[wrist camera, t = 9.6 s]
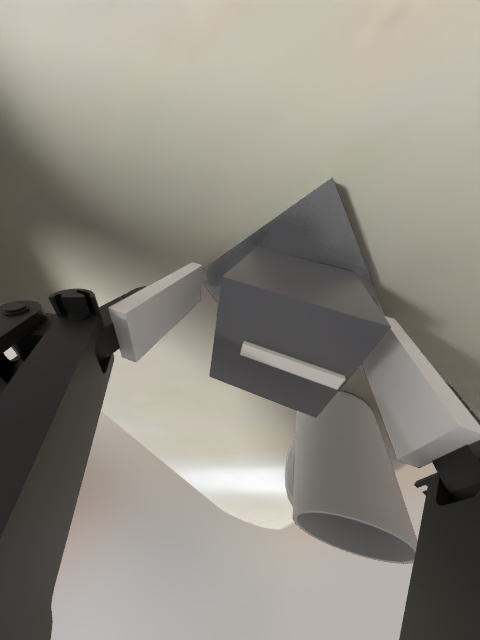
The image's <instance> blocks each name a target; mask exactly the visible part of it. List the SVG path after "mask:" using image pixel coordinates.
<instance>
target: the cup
mask: <svg viewBox="0 0 480 640" xmlns="http://www.w3.org/2000/svg"><path fill="white" fill-rule="evenodd" d="M285 484H286V491H287V496H288V499H289V501H290V503H291V504H292V506H293V520H294V522H295V524H296V525H298V526H299V527H300V528H301V529H302V530H303V531H305V532H306V533H308V534H309V535H311V536H313V537H315V538H317V539H318V540H320V541H322V542H325V543H327V544H329V545H331V546H333V547H336V548H339V549H341V550H344V551H347V552H350V553H353V554H356V555H359V556H362V557H366V558H370V559H374V560H379V561H384V562H390V563H401V564H406V563H407V564H408V563H414V558H415V553H416V547H417V542H418V541H417V538H416V535H415V532H414V529H413V526H412V523H411V520H410V517H409V515H408V512H407V508H406V506H405V503H404V500H403V497H402V494H401V491H400V488H399V485H398V482H397V479H396V476H395V473H394V470H393V467H392V464H391V461H390V458H389V455H388V452H387V449H386V446H385V443H384V440H383V437H382V434H381V431H380V428H379V426H378V423H377V420H376V418H375V415H374V413H373V411H372V409H371V408H370V407H369V406H368V405H367V404H366V403H365V402H364V401H363V400H361V399H360V398H358V397H356V396H354V395H352V394H349V393H346V392H343V391H338V392H337V394H336V395H335V396H334V397H333V398H332V400H331V401H330V402H329V403H328V404H327V406H326V407H325V408H324V409H323V410H322V412H321V413H320V414H319V415H318V416H317V418H315V417H312V416H309V415H307V414H304V413H302V412H299V411H297V413H296V434H295V438H294V439H293V441H292V443H291V445H290V448H289V451H288V454H287V460H286V469H285Z"/></svg>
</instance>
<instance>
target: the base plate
mask: <svg viewBox="0 0 480 640" xmlns="http://www.w3.org/2000/svg"><path fill="white" fill-rule="evenodd" d="M256 247H261V248H265V249H268V250H272V251H276V252H280V253H284V254H287V255H291V256H295V257H299V258H303V259H306V260H310V261H314V262H318V263H322V264H325V265H329V266H333V267H337V268H341V269H344V270H348V271H352V272H354V273H355V274H356V275H357V277H358V278H359V280H360V281H361V283H362V284H363V286H364V287H365V289H366V290H367V292H368V293H369V295H370V296H371V298H372V299H373V301H374V302H375V304H376V305H377V306H378V308H379V309H380V311H381V312H382V314H383V315H384V316H385V314H384V311H383V309H382V306H381V303H380V301H379V298H378V296H377V293H376V290H375V288H374V285H373V282H372V280H371V277H370V275H369V272H368V269H367V267H366V264H365V261H364V259H363V256H362V253H361V251H360V248H359V246H358V243H357V240H356V238H355V235H354V232H353V230H352V227H351V225H350V222H349V219H348V217H347V214H346V211H345V209H344V206H343V204H342V201H341V198H340V196H339V193H338V190H337V188H336V185H335V182H334V180H333V178H331V179H330V180H328V181H327V182H326V183H324V184H323V185H321V186H320V187H319V188H317V189H316V190H314V191H313V192H311V193H310V194H309V195H307V196H306V197H304V198H303V199H302V200H300V201H299V202H297V203H296V204H295V205H293V206H292V207H290V208H289V209H288V210H286V211H285V212H283V213H282V214H281V215H279V216H278V217H276V218H275V219H273V220H272V221H271V222H269V223H268V224H266V225H265V226H264V227H262V228H261V229H259V230H258V231H257V232H255V233H254V234H252V235H251V236H250V237H248V238H247V239H245V240H244V241H243V242H241V243H240V244H238V245H237V246H235V247H234V248H233V249H231V250H230V251H228V252H227V253H226V254H224V255H223V256H221V257H220V258H219V259H217V260H216V261H214V262H213V263H212V264H210V265H209V266H207V267H206V268H205V269H203V270H202V283H203V284H204V286H205V287H206V288H207V290H208V291H209V293H210V294H211V295H212V297H213V298H214V300H215V301H216V302H217V304H218V305H219V297H220V289H221V282H222V276H223V275H225V274H226V273H227V272H228V271H229V270H231V269H232V268H233V267H234V266H235V265H236V264H238V263H239V262H240V261H241V260H242V259H243V258H245V257H246V256H247V255H248V254H249V253H250V252H252V251H253V250H254V249H255V248H256Z"/></svg>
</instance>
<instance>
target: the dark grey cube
mask: <svg viewBox="0 0 480 640" xmlns="http://www.w3.org/2000/svg"><path fill="white" fill-rule="evenodd" d="M390 328H391V326H390V324H389V323H388V321H387V320H386V318H385V317H384V315H383V314H382V312H381V311H380V309H379V308H378V306H377V305H376V304H375V302H374V301H373V299H372V298H371V296H370V295H369V293H368V292H367V290H366V289H365V287H364V286H363V284H362V283H361V281H360V280H359V278H358V277H357V275H356V274H355V273H354V272H352V271H348V270H344V269H341V268H337V267H333V266H329V265H325V264H322V263H318V262H314V261H310V260H306V259H303V258H299V257H295V256H291V255H287V254H284V253H280V252H276V251H272V250H268V249H265V248H261V247H256V248H255V249H254V250H253V251H252V252H250V253H249V254H248V255H247V256H246V257H245V258H243V259H242V260H241V261H240V262H239V263H238V264H236V265H235V266H234V267H233V268H232V269H231V270H229V271H228V272H227V273H226V274H225V275H223V276H222V282H221V289H220V297H219V305H218V313H217V321H216V329H215V337H214V345H213V353H212V361H211V369H210V377H212V378H215V379H217V380H220V381H222V382H225V383H228V384H230V385H233V386H235V387H238V388H240V389H243V390H245V391H248V392H251V393H253V394H256V395H258V396H261V397H263V398H266V399H268V400H271V401H274V402H276V403H279V404H281V405H284V406H286V407H289V408H292V409H294V410H297V411H299V412H302V413H304V414H307V415H309V416H312V417H315V418H317V416H318V415H319V414H320V413H321V412H322V410H323V409H324V408H325V407H326V406H327V404H328V403H329V402H330V401H331V400H332V398H333V397H334V396H335V395H336V394H337V392H338V391H339V390H340V389H341V388H342V386H343V385H344V384H345V383H346V381H347V380H348V379H349V378H350V377H351V375H352V374H353V373H354V372H355V371H356V369H357V368H358V367H359V366H360V365H361V363H362V362H363V361H364V360H365V359H366V357H367V356H368V355H369V354H370V353H371V351H372V350H373V349H374V348H375V347H376V345H377V344H378V343H379V342H380V340H381V339H382V338H383V337H384V336H385V334H386V333H387V332H388V331H389V330H390Z"/></svg>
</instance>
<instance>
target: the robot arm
mask: <svg viewBox="0 0 480 640" xmlns="http://www.w3.org/2000/svg"><path fill="white" fill-rule="evenodd" d="M201 282H202V265H200V264H197V263H193V262H191V263H190V264H188V265H186V266H184V267H182V268H180V269H179V270H177V271H175V272H173V273H171V274H169V275H168V276H166V277H164V278H162V279H160V280H158V281H156V282H155V283H153V284H151V285H149V286H147V287H146V286H144V287H140V288H136V289H134V290H132V291H130V292H128V293H127V294H124V295H122V296H121V297H118V298H116V299H114V300H113V301H111V302H109V303H107V304H105V305H103V306H101V307H98V304H97V301H96V297H95V294H94V293H93V292H92V291H89V290H86V289H68V290H63V291H60V292H57V293H54V294H52V295H51V296H50V297H49V299H50V301H51V304H52V306H53V308H54V310H55V312H56V314H49V313H45V312H44V310H43V308H42V306H41V305H40V304H39V303H38V302H33V301H18V302H17V301H16V302H11V303H9V304H5V305H2V306H0V640H50V639H51V631H52V611H51V602H52V595H53V591H54V586H55V582H56V578H57V575H58V571H59V567H60V563H61V559H62V555H63V552H64V548H65V544H66V541H67V537H68V533H69V529H70V525H71V522H72V518H73V514H74V510H75V506H76V503H77V498H78V495H79V491H80V487H81V484H82V480H83V476H84V472H85V468H86V465H87V460H88V457H89V453H90V449H91V445H92V442H93V438H94V434H95V430H96V427H97V423H98V419H99V415H100V411H101V408H102V404H103V400H104V396H105V392H106V389H107V385H108V381H109V377H110V373H111V370H112V366H113V362H114V355H113V353H114V352H115V351H117V350H118V349H119V348H120V352H121V355H122V357H123V358H126V359H128V360H131V361H134V362H137V361H138V360H139V359H140V358H141V357H143V356H144V355H145V354H146V353H147V352H148V351H149V350H150V349H151V348H152V347H153V346H154V345H155V344H156V343H157V342H158V341H159V340H160V339H161V338H162V337H163V336H164V335H165V334H166V333H167V332H168V331H169V330H170V329H172V328H173V327H174V326H175V325H176V324H177V323H178V322H179V321H180V320H181V319H182V318H183V317H184V316H185V315H186V314H187V313H188V312H189V311H190V310H191V309H192V308H193V307H194V306H195V305H196V304H197V303H198V302H199V301H200V299H201ZM384 317H385V318H386V320H387V321H388V323H389V324H390V326H391V328H390V330H389V331H388V332H387V333H386V334H385V336H384V337H383V338H382V339H381V340H380V342H379V343H378V344H377V345H376V347H375V348H374V349H373V350H372V351H371V353H370V354H369V355H368V356H367V357H366V359H365V360H364V361H363V362H362V366H363V368H364V371H365V374H366V376H367V379H368V382H369V384H370V387H371V390H372V392H373V395H374V398H375V400H376V403H377V406H378V408H379V411H380V414H381V417H382V419H383V422H384V425H385V427H386V430H387V433H388V435H389V438H390V441H391V443H392V446H393V449H394V451H395V454H396V457H397V459H398V460H399V461H402V462H404V463H407V464H410V465H412V466H415V467H418V468H421V467H422V466H425V465H427V464H429V463H431V462H433V464H434V466H435V468H436V470H437V473H435V474H433V475H430V476H428V477H425V478H423V479H421V480H418V481H417V482H416V483H415V484H414V485H415V486H416V487H417V488H418V487H421V486H423V485H427V486H428V488H427V490H426V491H423V493H424V494H425V495H426V499H425V504H424V510H423V516H422V520H421V526H420V532H419V537H418V542H417V547H416V553H415V558H414V563H413V569H412V575H411V580H410V585H409V590H408V596H407V601H406V606H405V612H404V617H403V622H402V628H401V634H400V639H399V640H480V420H479V419H478V418H477V417H476V415H475V414H474V413H473V412H472V411H471V410H469V409H470V408H469V407H468V406H467V404H466V403H465V402H464V401H462V400H461V399H462V398H461V397H460V396H459V395H458V393H457V392H456V391H455V390H454V389H453V387H451V386H450V385H449V384H448V383H447V382H446V381H444V380H443V379H442V377H441V376H440V375H439V374H438V372H437V371H436V370H435V369H434V367H433V366H432V365H431V364H430V362H429V361H428V360H427V359H426V357H425V356H424V355H423V354H422V352H421V351H420V350H419V349H418V347H417V346H416V345H415V344H414V342H413V341H412V340H411V339H410V337H409V336H408V335H407V334H406V332H405V331H404V330H403V329H402V327H401V326H400V325H399V324H398V322H397V321H396V320H395V319H393V318H389V317H386V316H384ZM10 347H12V348H13V350H14V351H15V352H16V354H17V355H18V356H16V357H15V358H14V359H12V360H9V359H7V357H6V356H5V355H4V352H5V351H6V350H7V349H9V348H10Z"/></svg>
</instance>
